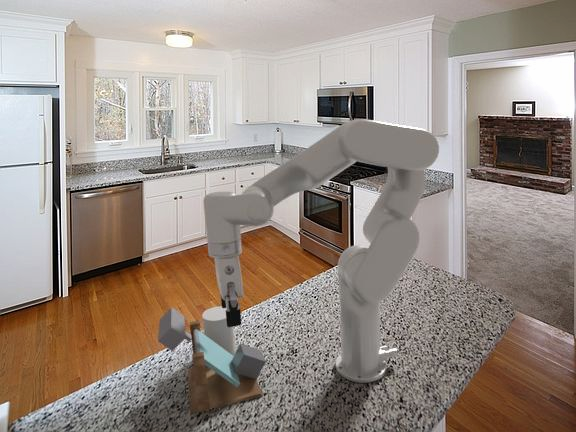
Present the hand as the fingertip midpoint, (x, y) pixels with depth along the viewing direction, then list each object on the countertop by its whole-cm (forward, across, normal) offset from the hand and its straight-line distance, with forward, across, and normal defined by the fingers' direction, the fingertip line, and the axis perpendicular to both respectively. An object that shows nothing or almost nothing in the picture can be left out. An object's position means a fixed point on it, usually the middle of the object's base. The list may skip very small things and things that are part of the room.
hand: (231, 315), depth 89 cm
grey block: (+11, 0, -1) cm, 11 cm away
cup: (+18, +13, +2) cm, 22 cm away
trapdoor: (+8, 0, +9) cm, 12 cm away
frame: (+17, 0, +3) cm, 18 cm away
